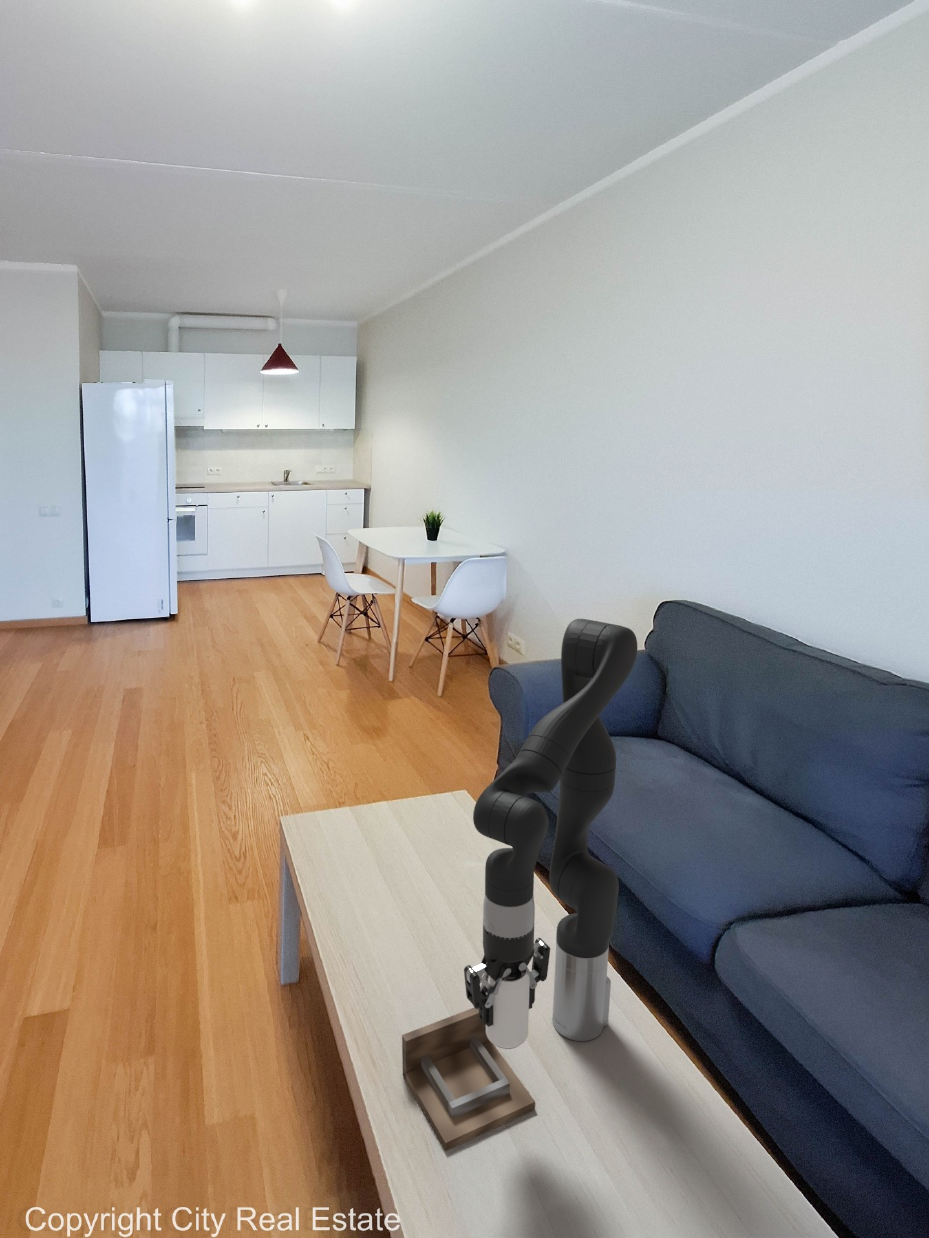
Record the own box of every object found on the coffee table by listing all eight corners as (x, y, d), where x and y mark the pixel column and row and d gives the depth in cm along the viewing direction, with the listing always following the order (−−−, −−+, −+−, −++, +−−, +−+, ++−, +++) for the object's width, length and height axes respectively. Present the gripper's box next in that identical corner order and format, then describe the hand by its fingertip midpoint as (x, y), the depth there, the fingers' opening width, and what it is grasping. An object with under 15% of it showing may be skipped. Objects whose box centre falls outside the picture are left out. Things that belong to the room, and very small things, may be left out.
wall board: (485, 1040, 142) (486, 1002, 140) (534, 1108, 128) (536, 1068, 126) (402, 1074, 135) (402, 1034, 133) (445, 1150, 121) (445, 1108, 119)
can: (525, 1017, 126) (526, 952, 123) (530, 1049, 120) (532, 982, 117) (484, 1018, 126) (484, 953, 123) (487, 1051, 120) (488, 983, 116)
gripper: (535, 891, 124) (532, 982, 128) (453, 920, 117) (453, 1015, 122) (563, 918, 118) (560, 1012, 122) (479, 950, 111) (478, 1049, 115)
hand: (506, 1013), depth 122 cm, fingers closed on can, 6 cm apart
